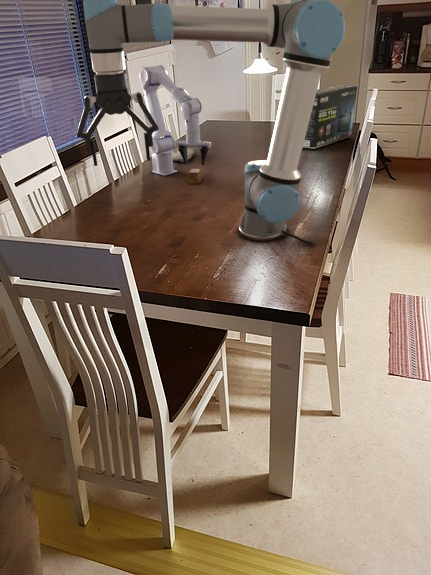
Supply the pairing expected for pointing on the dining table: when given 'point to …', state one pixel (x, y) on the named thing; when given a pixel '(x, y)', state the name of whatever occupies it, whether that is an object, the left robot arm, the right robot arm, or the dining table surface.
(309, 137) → the router box
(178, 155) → the fossil
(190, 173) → the block
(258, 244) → the dining table surface
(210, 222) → the dining table surface
